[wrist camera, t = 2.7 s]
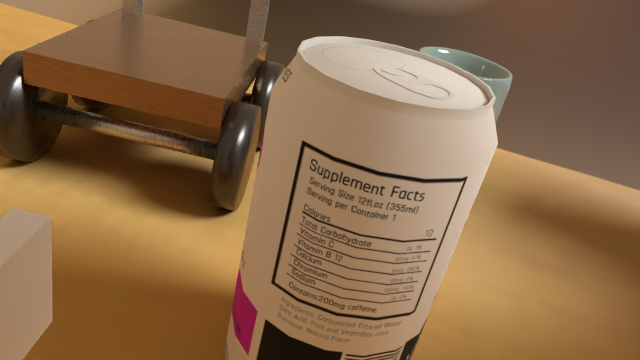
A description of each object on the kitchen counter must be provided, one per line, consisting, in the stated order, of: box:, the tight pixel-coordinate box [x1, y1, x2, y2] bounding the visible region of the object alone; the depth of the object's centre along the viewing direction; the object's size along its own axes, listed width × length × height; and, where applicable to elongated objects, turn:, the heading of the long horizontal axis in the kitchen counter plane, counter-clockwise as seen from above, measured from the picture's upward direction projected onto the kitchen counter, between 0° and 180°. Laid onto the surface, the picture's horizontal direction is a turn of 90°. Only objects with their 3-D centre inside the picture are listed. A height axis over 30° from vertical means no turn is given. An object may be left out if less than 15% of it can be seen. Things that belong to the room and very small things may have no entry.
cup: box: [418, 47, 512, 123], centre depth 47 cm, size 8×8×10 cm
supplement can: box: [225, 36, 498, 360], centre depth 22 cm, size 8×8×15 cm
